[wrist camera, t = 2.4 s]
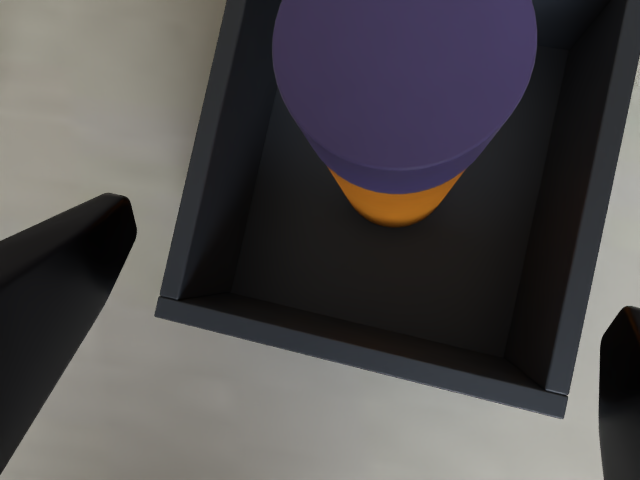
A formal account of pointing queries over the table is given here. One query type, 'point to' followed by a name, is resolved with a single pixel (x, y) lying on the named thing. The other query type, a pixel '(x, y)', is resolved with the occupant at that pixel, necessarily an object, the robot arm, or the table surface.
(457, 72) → the glue stick
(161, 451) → the table surface
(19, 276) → the robot arm
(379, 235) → the organizer
